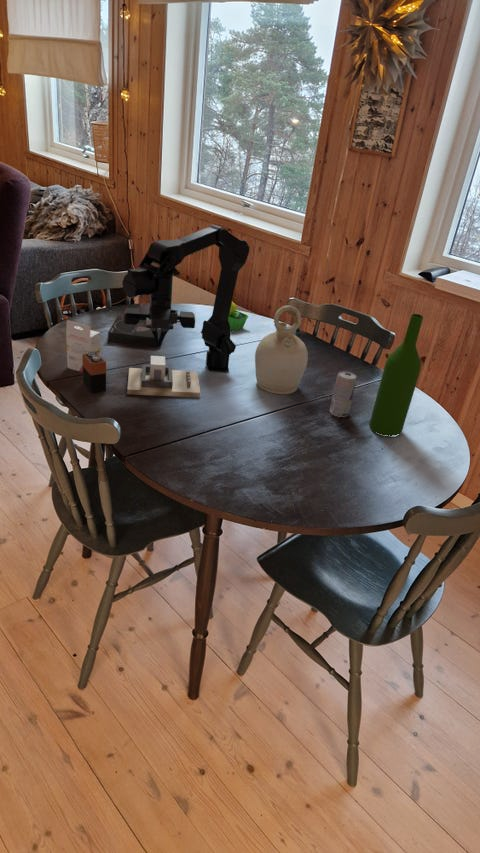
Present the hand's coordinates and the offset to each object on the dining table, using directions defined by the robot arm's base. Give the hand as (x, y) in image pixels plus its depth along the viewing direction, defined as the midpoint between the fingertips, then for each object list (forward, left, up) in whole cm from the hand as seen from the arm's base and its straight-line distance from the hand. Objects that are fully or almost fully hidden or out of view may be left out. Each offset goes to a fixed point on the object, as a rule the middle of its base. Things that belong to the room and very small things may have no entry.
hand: (158, 347), depth 156 cm
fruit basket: (-27, -52, -12) cm, 60 cm away
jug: (-36, -3, -12) cm, 38 cm away
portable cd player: (+6, -36, -12) cm, 38 cm away
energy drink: (-51, +13, -12) cm, 54 cm away
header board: (-2, 0, -11) cm, 12 cm away
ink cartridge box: (+21, -8, -12) cm, 25 cm away
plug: (0, 0, -10) cm, 10 cm away
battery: (+17, +4, -12) cm, 21 cm away
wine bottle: (-62, +21, -12) cm, 66 cm away
